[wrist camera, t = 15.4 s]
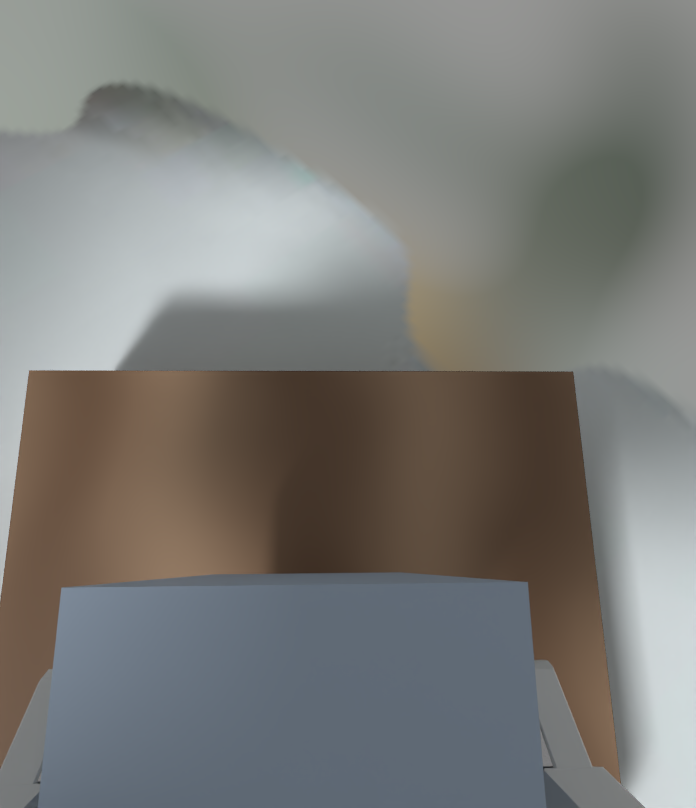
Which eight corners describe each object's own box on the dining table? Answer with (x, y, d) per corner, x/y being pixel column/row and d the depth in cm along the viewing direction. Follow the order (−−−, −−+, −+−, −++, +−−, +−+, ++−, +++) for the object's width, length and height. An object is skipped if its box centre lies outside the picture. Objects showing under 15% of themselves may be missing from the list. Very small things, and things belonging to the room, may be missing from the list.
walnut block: (41, 930, 18) (-58, 1063, 13) (90, 412, 22) (28, 370, 17) (563, 905, 19) (648, 1020, 14) (519, 411, 23) (573, 371, 18)
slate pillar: (202, 788, 13) (-6, 1211, 5) (212, 574, 14) (61, 587, 6) (407, 781, 14) (577, 1170, 5) (400, 572, 15) (527, 581, 6)
